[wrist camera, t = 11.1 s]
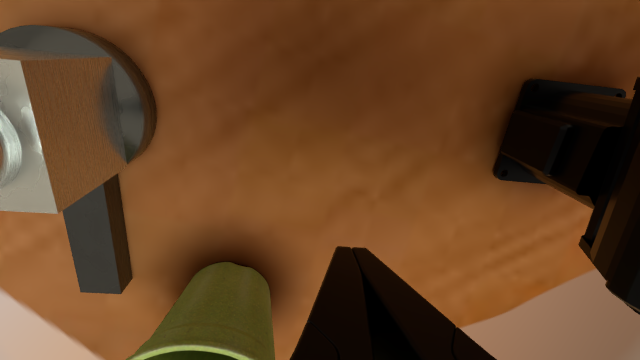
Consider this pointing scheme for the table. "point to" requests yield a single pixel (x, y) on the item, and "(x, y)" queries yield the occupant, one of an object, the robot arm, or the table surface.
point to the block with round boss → (56, 128)
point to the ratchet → (105, 201)
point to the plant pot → (216, 319)
